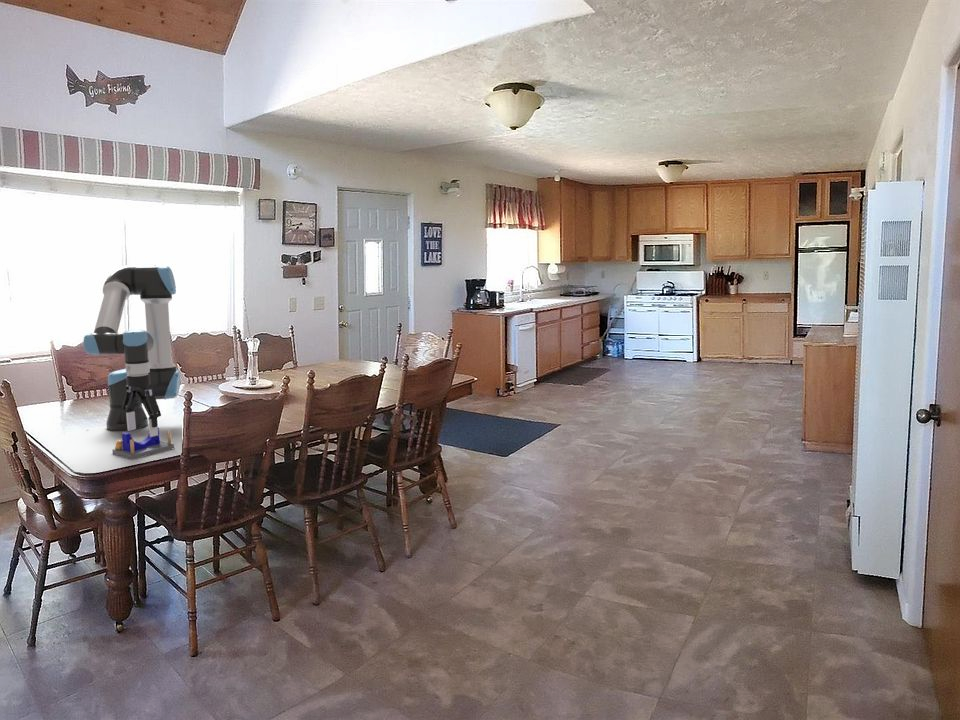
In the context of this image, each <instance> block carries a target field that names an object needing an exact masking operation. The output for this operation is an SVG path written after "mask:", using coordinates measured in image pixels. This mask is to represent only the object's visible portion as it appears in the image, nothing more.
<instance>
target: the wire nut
mask: <svg viewBox="0 0 960 720" xmlns="http://www.w3.org/2000/svg"><path fill="white" fill-rule="evenodd" d="M114 446H115V447H114V449H118V450H121V449H123V442H122V439H121V440H120V439H117V440H116V442H115V445H114Z"/></svg>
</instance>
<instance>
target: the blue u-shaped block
mask: <svg viewBox="0 0 960 720" xmlns="http://www.w3.org/2000/svg"><path fill="white" fill-rule="evenodd" d="M131 439H133V437H132V434H131V433H129V432H122V433H121V440H122V442H123V450H125V451H128V452H131V449H130V440H131ZM160 441H161V438H160V428H159V427H158V435H157V436H153V437H150V433H148V435H147V436H146V437H145V438H144V439H143V440H140V441H134V450H135V451H136V450H140V449H145V448H146V447H148V446H152V445H156V444H160Z"/></svg>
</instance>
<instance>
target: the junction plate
mask: <svg viewBox="0 0 960 720" xmlns="http://www.w3.org/2000/svg"><path fill="white" fill-rule="evenodd" d="M166 436H167V442H166V441H161V440H160V444H156V445H152V446H148V447H146V448H145V449H140V450H136V451H135V450H134V438H132V439H131V440H130V449H131V452H128V451H125V450H123V449H121V450H118V449H115V448H112V449H111V450H112V451H111V452H112V454H113V455H115V454H116V455H117V456H119V455H120V456H119V457H122V456H123V458H126V457H127V459H129V458H131V459H130V460H134V458H135V459H138V457H139V458H143V457H146V456H145V455H147V456H149V454H150V455H154V454H157V452H158V453H162V452H166V451H168V450H169V449H170V450H173V449H172V448H174V449H175V444H174V443H172V431H171V430H167V431H166ZM165 450H166V451H165ZM161 451H162V452H161ZM153 453H154V454H153ZM142 456H143V457H142Z"/></svg>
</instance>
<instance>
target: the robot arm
mask: <svg viewBox="0 0 960 720" xmlns="http://www.w3.org/2000/svg"><path fill="white" fill-rule="evenodd" d="M176 288H177V287H176V281H175V277H174V273H173V270H172V269H171V267H170V266H168V265H161V264H160V265H159V264H155V265H154V264H150V265H149V264H148V265H147V264H146V265H145V264H144V265H142V264H141V265H133V264H132V265H130V264H129V265H125V266H122V267H119V268H117V270H115V271H114V272H112V273H111V274H110V275H109V276H108V277H107V279H106V280H105V281H104V284H103V287H102V294H103V297H102V302H101V305H100V309H99V311H98V316H97V320H96V322H95V326H94V330H93V332H91V333H87V334H85V335H84V337H83V349H84V351H85V353H86V354H87V355H98V356H100V355H102V356H103V355H118V354H120V355H121V354H122V355H124V362H125V368H123V369H118V370H115V371H112V372H110V373H109V374H108V375H107V390H108V400H109V412H108V415H107V420H106V424H105V426H106V429H107V430H109V431H119V432H120V431H128V432H129V431H133V430H136V429H137V430H138V429H142V428H145V427H147V426H148V431H149V433H150V437H153V436H157V435H158V426H159V425H158V418H159V417H161V416H162V413H161V410H160V406H159V405H158V401H157V400H169V399H175V398H177V397H178V395H179V392H180V388H181V381H182V380H181V378H182V377H181V376H182V375H181V370H180V369H177V365H176V364H175V363H174V362H173V361H172V349H171V348H172V346H171V345H172V344H171V330H170V329H171V327H170V312H169V302H171V301H172V300H173V295H175V294H176V292H177V290H176ZM132 295H136V296H139V297H140V300H141V301H142V302H143V303H144V310H145V311H144V313H145V327H146V330H144V329H130V330H129V329H128V330H125V331H124V332H119V329H120V324H121V320H122V315H123V313H124V308H125V304H126V301H127V300H129V298H130V296H132ZM143 407H144V408H143ZM144 409H145V410H144ZM146 412H147V414H146ZM147 415H148V417H147ZM149 433H148V434H149Z"/></svg>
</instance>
